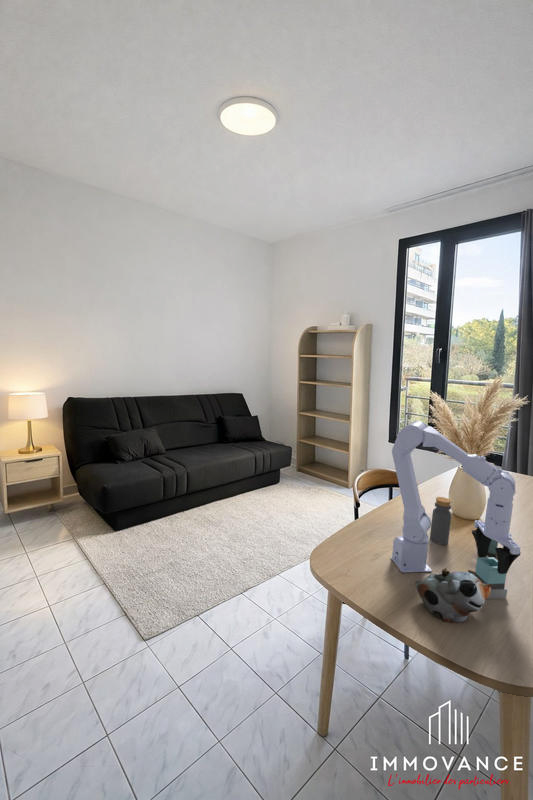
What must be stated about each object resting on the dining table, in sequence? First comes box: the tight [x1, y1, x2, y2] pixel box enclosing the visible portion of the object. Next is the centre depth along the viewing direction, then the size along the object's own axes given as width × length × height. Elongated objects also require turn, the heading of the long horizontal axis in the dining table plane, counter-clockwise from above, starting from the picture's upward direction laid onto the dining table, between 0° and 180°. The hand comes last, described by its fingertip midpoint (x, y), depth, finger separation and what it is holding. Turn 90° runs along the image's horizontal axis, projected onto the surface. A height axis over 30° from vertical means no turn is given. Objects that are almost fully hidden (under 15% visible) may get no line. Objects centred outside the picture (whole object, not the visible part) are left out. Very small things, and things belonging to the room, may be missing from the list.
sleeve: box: [475, 557, 507, 589], centre depth 100 cm, size 5×5×6 cm
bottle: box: [429, 496, 452, 545], centre depth 127 cm, size 6×6×15 cm
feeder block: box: [486, 587, 508, 600], centre depth 101 cm, size 6×6×2 cm
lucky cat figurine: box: [414, 568, 492, 623], centre depth 92 cm, size 15×12×14 cm
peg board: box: [467, 540, 499, 576], centre depth 113 cm, size 18×7×8 cm, turn 144°
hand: (491, 564), depth 100 cm, fingers open, 7 cm apart
